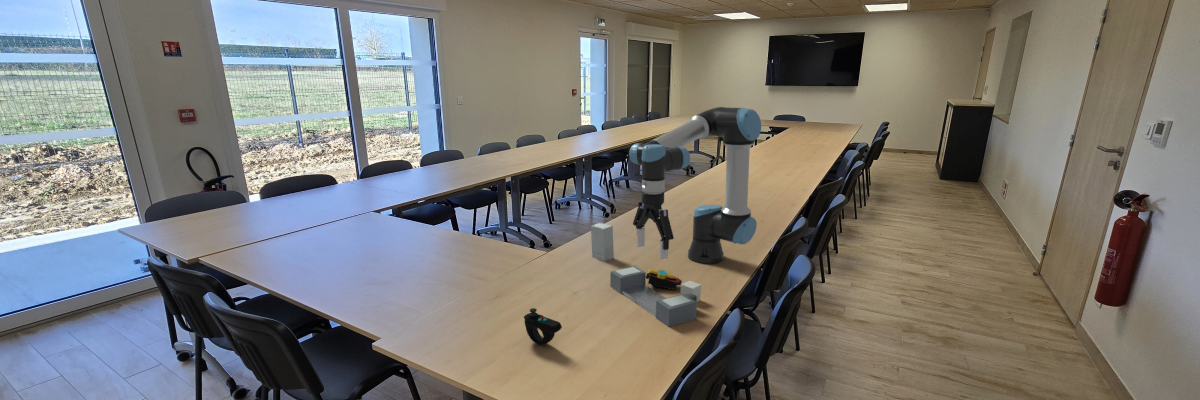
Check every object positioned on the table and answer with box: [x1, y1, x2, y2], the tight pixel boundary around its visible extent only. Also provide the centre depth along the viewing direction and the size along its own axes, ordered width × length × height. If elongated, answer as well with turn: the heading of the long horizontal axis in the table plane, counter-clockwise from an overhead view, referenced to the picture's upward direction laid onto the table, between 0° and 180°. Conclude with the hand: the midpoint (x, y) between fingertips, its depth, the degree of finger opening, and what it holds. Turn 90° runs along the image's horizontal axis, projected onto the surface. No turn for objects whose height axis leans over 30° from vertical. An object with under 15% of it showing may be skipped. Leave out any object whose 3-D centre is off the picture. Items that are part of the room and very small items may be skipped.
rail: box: [620, 284, 666, 318], centre depth 176 cm, size 10×32×1 cm, turn 29°
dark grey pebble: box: [686, 294, 698, 303], centre depth 169 cm, size 4×4×5 cm
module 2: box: [655, 293, 698, 328], centre depth 163 cm, size 11×7×6 cm, turn 119°
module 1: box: [609, 265, 647, 294], centre depth 188 cm, size 11×7×6 cm, turn 119°
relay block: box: [679, 280, 702, 303], centre depth 177 cm, size 5×5×6 cm
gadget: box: [645, 268, 683, 290], centre depth 188 cm, size 6×13×6 cm, turn 79°
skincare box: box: [590, 222, 615, 262], centre depth 217 cm, size 8×6×15 cm
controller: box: [523, 307, 563, 346], centre depth 147 cm, size 4×12×10 cm, turn 57°
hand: (652, 252), depth 172 cm, fingers open, 13 cm apart
